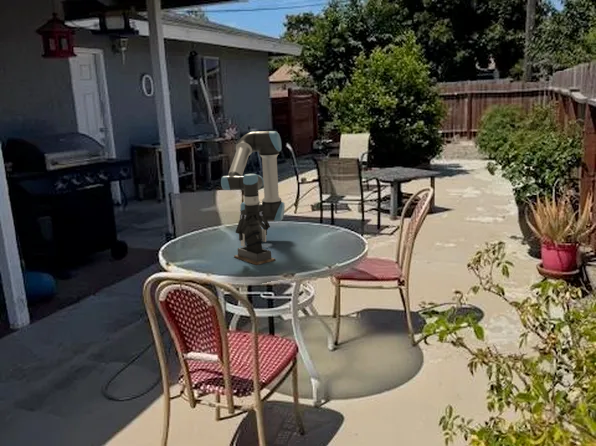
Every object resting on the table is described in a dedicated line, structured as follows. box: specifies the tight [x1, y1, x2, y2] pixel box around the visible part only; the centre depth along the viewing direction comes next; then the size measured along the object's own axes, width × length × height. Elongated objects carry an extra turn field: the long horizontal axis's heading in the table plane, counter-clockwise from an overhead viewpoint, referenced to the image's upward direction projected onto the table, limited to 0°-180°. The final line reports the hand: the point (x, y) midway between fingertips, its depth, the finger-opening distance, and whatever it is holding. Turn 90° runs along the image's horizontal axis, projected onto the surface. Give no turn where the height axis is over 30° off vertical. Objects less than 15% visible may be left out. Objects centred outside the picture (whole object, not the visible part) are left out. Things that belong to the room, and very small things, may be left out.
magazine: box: [245, 230, 263, 254], centre depth 292 cm, size 4×13×15 cm, turn 35°
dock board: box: [233, 254, 277, 266], centre depth 294 cm, size 12×21×1 cm, turn 39°
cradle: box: [237, 246, 272, 262], centre depth 294 cm, size 9×18×4 cm, turn 39°
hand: (253, 243), depth 293 cm, fingers open, 13 cm apart
